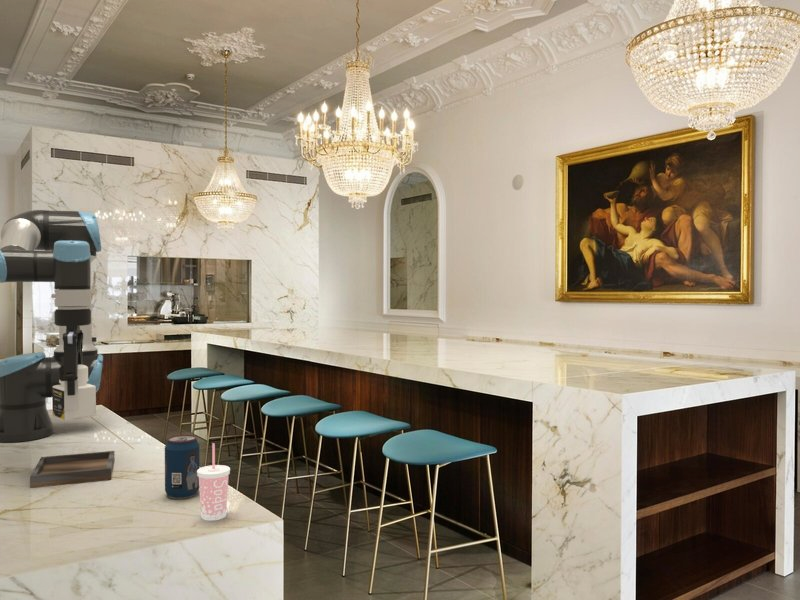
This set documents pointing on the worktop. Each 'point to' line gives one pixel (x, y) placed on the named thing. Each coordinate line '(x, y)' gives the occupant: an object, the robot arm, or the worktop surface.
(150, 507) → the worktop surface
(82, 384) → the medicine bottle
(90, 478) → the wooden tray
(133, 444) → the worktop surface
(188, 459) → the soda can
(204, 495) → the beverage cup
